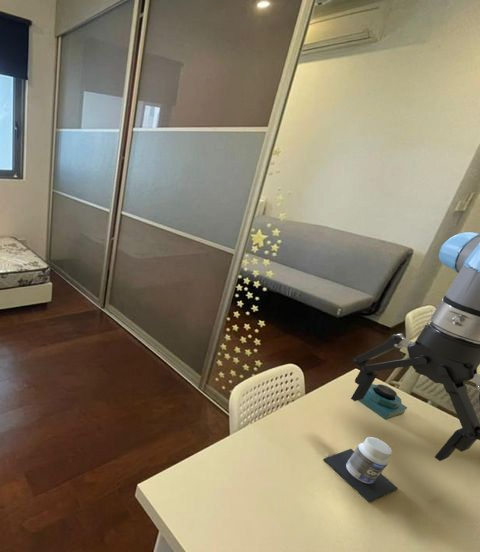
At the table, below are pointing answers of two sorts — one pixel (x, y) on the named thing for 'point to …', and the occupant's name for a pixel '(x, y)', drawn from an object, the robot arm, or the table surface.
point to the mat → (366, 490)
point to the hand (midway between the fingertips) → (394, 425)
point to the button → (385, 392)
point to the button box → (382, 404)
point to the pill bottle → (369, 460)
